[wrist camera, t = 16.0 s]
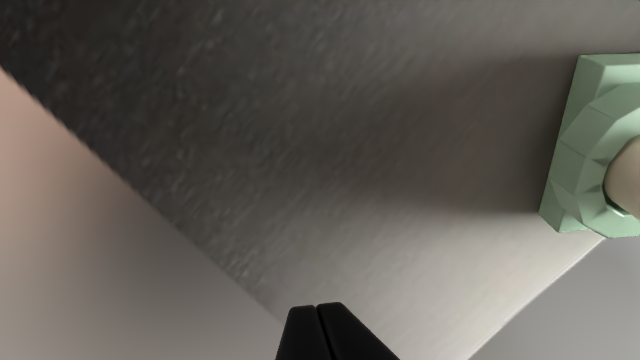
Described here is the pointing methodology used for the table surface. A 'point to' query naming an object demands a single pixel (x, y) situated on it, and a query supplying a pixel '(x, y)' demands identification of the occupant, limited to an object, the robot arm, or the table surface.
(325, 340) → the robot arm
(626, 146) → the button
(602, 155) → the control block
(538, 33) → the table surface
